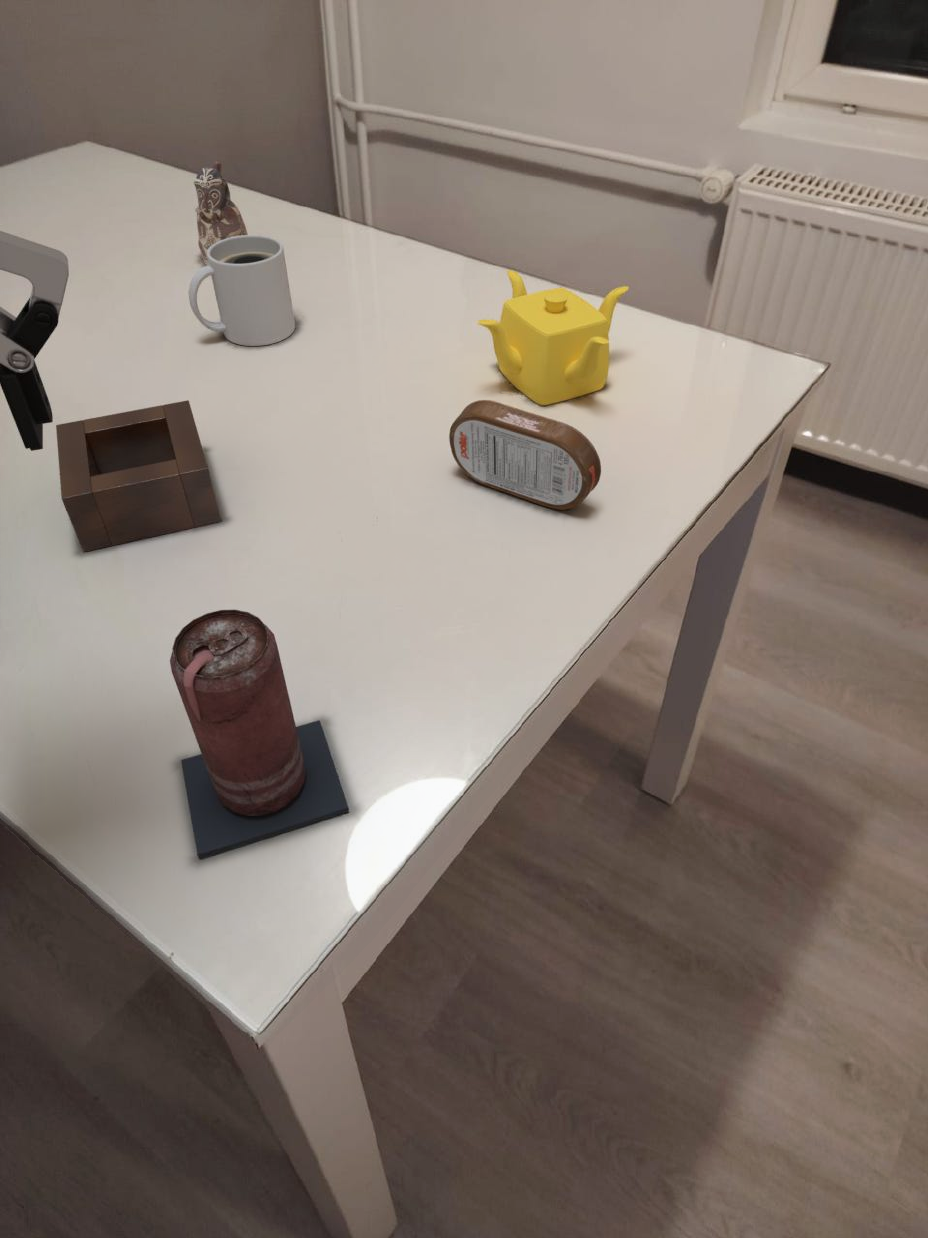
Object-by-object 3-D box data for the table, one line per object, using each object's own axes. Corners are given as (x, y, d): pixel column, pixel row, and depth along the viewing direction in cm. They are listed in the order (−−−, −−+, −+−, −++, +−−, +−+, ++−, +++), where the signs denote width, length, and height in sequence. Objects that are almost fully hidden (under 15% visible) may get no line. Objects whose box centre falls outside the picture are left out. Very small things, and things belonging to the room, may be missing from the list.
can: (198, 810, 58) (142, 670, 48) (242, 737, 62) (199, 595, 52) (281, 833, 57) (241, 694, 47) (320, 757, 61) (291, 615, 51)
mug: (302, 314, 111) (291, 235, 104) (284, 350, 104) (270, 268, 97) (220, 311, 112) (203, 232, 105) (197, 346, 105) (177, 264, 98)
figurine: (191, 262, 123) (170, 171, 115) (219, 243, 128) (202, 155, 119) (233, 270, 121) (216, 178, 113) (261, 251, 126) (246, 161, 117)
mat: (199, 859, 56) (197, 855, 56) (182, 764, 61) (180, 759, 61) (349, 812, 58) (348, 807, 58) (320, 724, 64) (319, 719, 63)
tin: (597, 507, 82) (607, 430, 76) (583, 525, 80) (592, 448, 74) (461, 461, 88) (460, 386, 82) (445, 477, 86) (443, 401, 80)
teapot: (506, 340, 106) (508, 260, 99) (621, 355, 103) (631, 275, 96) (472, 400, 96) (473, 317, 89) (598, 419, 93) (609, 334, 86)
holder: (83, 552, 78) (61, 498, 74) (76, 477, 86) (55, 424, 82) (221, 521, 81) (208, 468, 77) (202, 451, 89) (188, 399, 85)
